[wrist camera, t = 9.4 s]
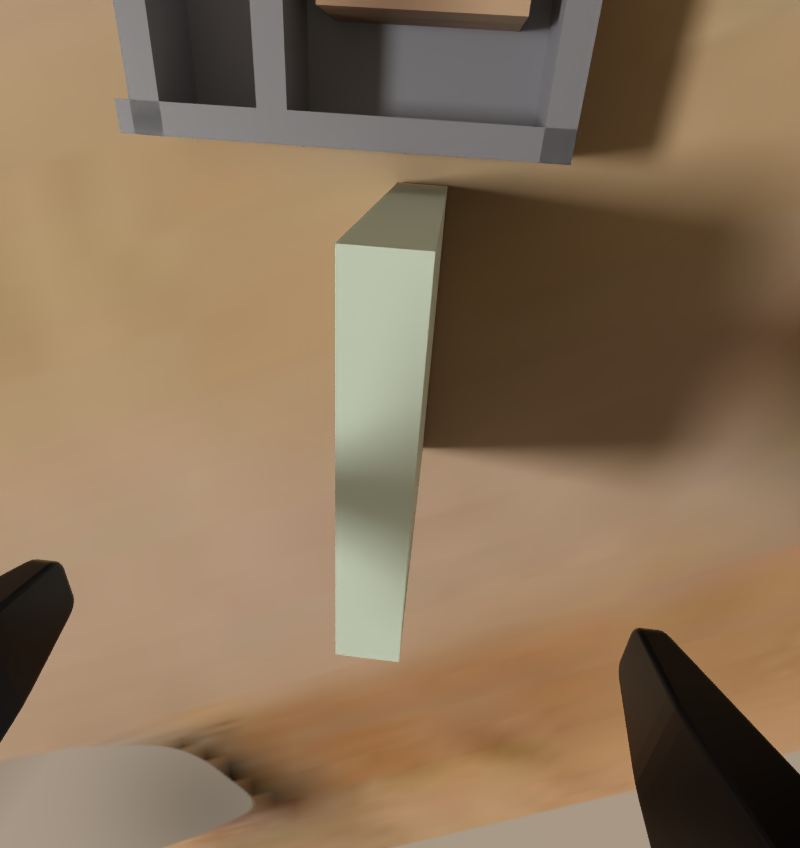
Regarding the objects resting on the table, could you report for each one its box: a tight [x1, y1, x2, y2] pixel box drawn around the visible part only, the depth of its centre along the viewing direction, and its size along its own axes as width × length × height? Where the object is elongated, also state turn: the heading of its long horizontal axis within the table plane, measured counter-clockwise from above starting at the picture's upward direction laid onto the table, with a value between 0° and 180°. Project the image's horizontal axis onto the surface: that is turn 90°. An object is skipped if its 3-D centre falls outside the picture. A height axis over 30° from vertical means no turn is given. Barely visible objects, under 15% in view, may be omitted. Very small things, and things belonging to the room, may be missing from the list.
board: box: [335, 182, 448, 662], centre depth 15 cm, size 2×10×10 cm, turn 177°
